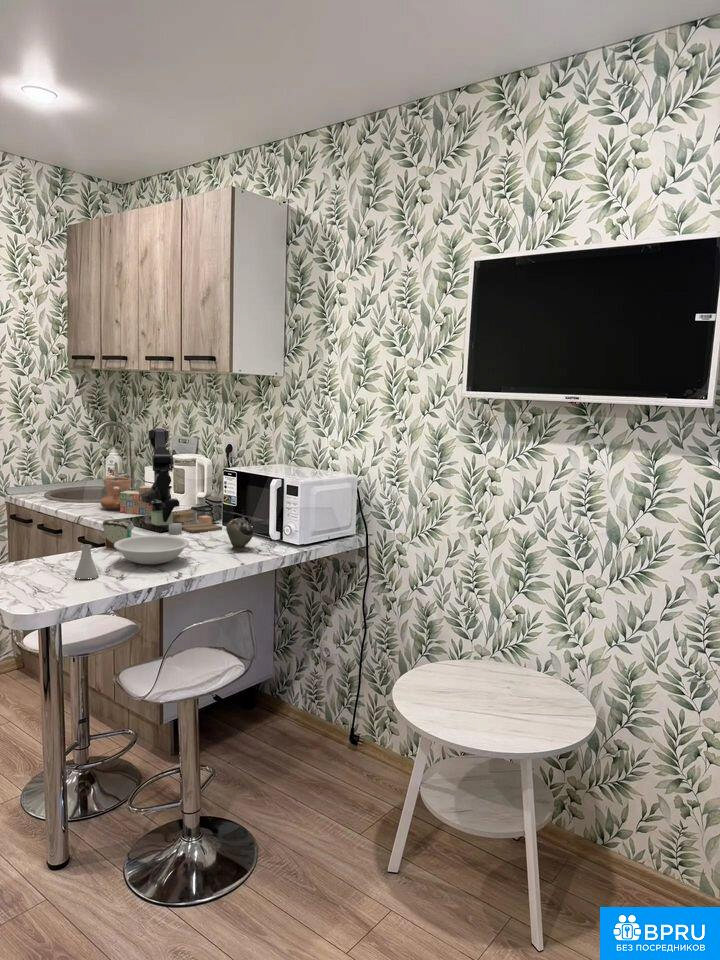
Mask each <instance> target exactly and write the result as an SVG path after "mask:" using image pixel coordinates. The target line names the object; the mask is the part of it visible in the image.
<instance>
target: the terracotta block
mask: <svg viewBox="0 0 720 960" xmlns="http://www.w3.org/2000/svg"><path fill="white" fill-rule="evenodd" d="M212 517H213V516H210V515H200V516H198V519H197V520H198V522H199V523H201V522H209V523H212V524H213V522H212V519H213V518H212ZM198 522H197V523H198Z"/></svg>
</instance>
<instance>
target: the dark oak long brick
mask: <svg viewBox="0 0 720 960" xmlns="http://www.w3.org/2000/svg"><path fill="white" fill-rule="evenodd" d="M190 520H192V521H194V511H193V510H183V511H179V512H175V513H173V522H185V523H187V522H186V521H189V522H191V521H190Z"/></svg>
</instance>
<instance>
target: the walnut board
mask: <svg viewBox="0 0 720 960" xmlns="http://www.w3.org/2000/svg"><path fill="white" fill-rule="evenodd" d="M183 530H184V531H183ZM222 530H223V527H222V526H221V525H217V524H214V523H213V522H212V523H209V522H201V523H198V522H196V523H195V522H194V523H186V524H185V523H184V524H182V531H183V532H185V531H186V533H188V532H189V533H188V534H191V533H192V534H191V535H193V533H194V534H200V532H201V533H206V532H208V531H209V532H214V531H215V532H216V531H222Z"/></svg>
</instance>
